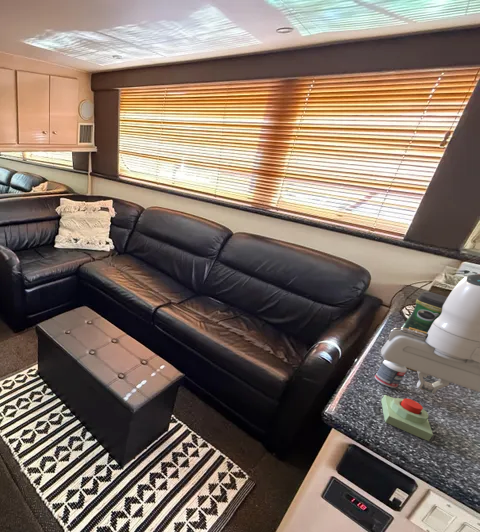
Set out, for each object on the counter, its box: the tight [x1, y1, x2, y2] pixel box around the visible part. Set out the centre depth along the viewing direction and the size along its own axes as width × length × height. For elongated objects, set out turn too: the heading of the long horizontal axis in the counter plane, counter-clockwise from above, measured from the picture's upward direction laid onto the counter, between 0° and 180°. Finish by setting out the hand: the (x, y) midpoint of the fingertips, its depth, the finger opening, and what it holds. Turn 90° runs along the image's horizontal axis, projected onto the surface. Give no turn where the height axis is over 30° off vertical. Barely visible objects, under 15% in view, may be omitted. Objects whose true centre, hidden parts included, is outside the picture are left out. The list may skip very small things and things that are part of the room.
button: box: [400, 397, 424, 414], centre depth 80 cm, size 4×4×2 cm
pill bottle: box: [374, 359, 408, 389], centre depth 94 cm, size 5×5×9 cm
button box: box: [380, 394, 434, 442], centre depth 81 cm, size 10×8×4 cm
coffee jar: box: [401, 290, 448, 332], centre depth 120 cm, size 10×8×19 cm
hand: (424, 389), depth 78 cm, fingers closed
